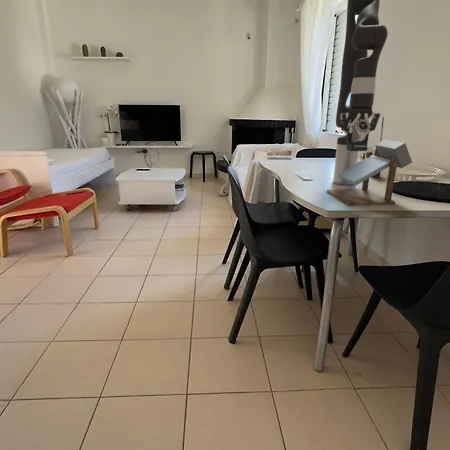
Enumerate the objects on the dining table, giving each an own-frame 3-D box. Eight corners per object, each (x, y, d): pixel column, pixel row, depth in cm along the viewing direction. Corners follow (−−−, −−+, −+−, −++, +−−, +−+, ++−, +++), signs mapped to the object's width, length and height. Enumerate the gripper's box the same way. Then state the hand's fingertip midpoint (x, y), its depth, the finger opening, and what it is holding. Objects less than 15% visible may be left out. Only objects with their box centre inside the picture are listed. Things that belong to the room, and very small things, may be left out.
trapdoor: (390, 157, 128) (383, 139, 125) (413, 162, 115) (406, 142, 112) (342, 184, 130) (334, 167, 127) (358, 193, 117) (350, 174, 114)
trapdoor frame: (367, 190, 135) (372, 151, 129) (394, 204, 116) (402, 158, 111) (326, 192, 134) (330, 152, 128) (348, 205, 115) (354, 159, 109)
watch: (354, 152, 115) (357, 119, 111) (344, 149, 122) (347, 118, 118) (369, 151, 115) (373, 118, 111) (358, 148, 123) (362, 117, 119)
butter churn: (387, 178, 157) (397, 117, 147) (365, 177, 160) (374, 117, 150) (385, 175, 165) (394, 116, 155) (364, 174, 168) (372, 116, 158)
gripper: (376, 92, 116) (370, 142, 122) (337, 93, 115) (332, 142, 121) (388, 91, 109) (380, 144, 115) (346, 92, 108) (341, 145, 114)
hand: (356, 143), depth 118 cm, fingers closed on watch, 5 cm apart
